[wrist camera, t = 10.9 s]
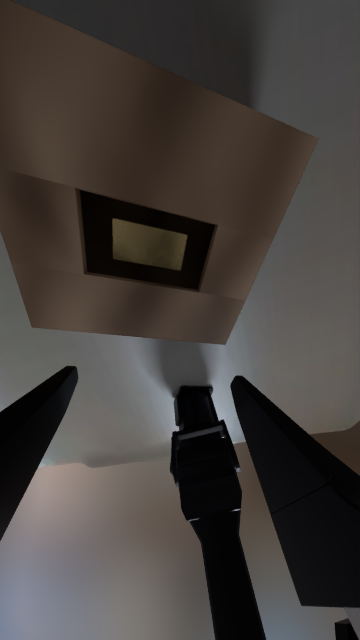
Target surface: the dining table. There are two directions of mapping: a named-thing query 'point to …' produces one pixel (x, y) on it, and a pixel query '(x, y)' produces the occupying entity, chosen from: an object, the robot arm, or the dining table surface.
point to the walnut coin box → (131, 185)
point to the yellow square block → (148, 244)
